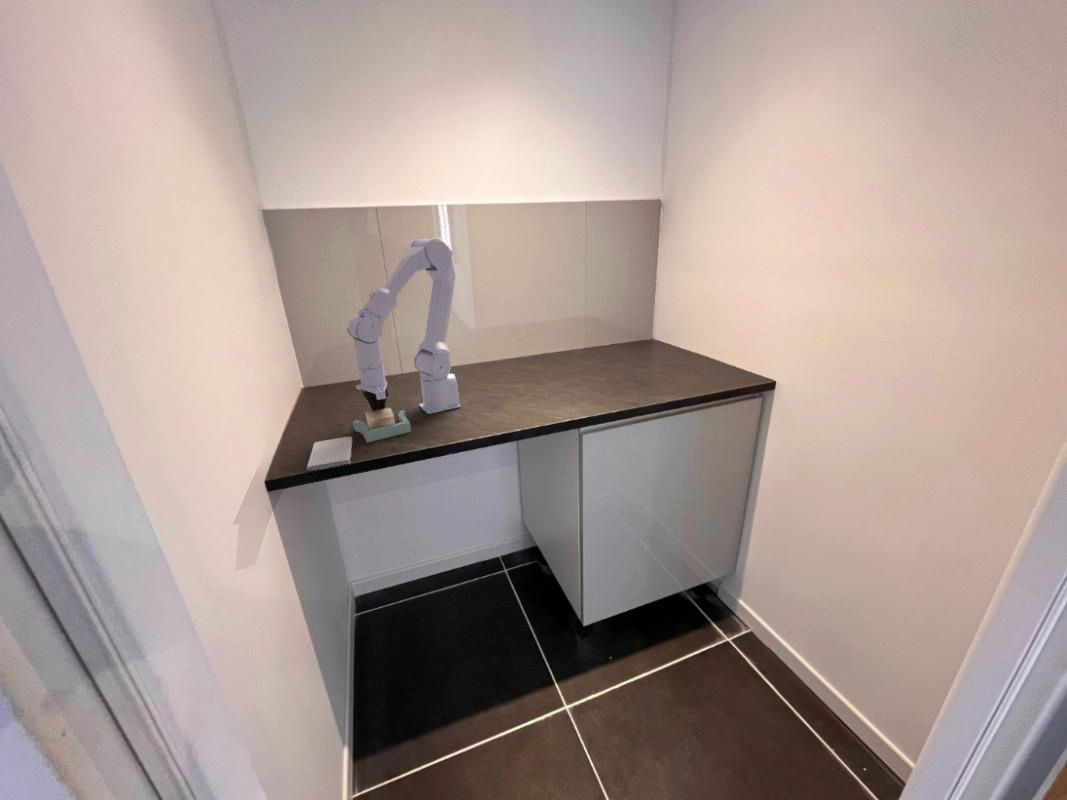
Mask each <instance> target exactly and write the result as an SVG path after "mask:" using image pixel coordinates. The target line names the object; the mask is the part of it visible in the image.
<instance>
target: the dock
mask: <svg viewBox="0 0 1067 800" xmlns="http://www.w3.org/2000/svg"><path fill="white" fill-rule="evenodd" d="M397 416H398V422H395V424H392V425H388V426H384V427H379V428H375V429H371V430H369V428H368V425H367V422H364V421H363V420H362V421H361V420H359V419H355V420H354V421H352V423H353V429H354V431H355V432H357V433H360V434H362V436H363V438H364V439H365V442H366V443H371V442H375V441H378V440H384V439H387V438H391V437H395V436H399V435H404V434H407V433H412V427H411V422H410V420H409V419H408V418H407V417H406V416H407V414H406V409H402V410H401V409H400V410H399V412H398V415H397Z"/></svg>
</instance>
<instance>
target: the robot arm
mask: <svg viewBox="0 0 1067 800" xmlns="http://www.w3.org/2000/svg"><path fill="white" fill-rule="evenodd" d="M453 254H454V251H453V250H452V249H451V247H450V246H449V244H448V243H447V242H446V241H445V240H444V239H442V238H440V237H433V238H425V239H424V238H416V239H415V240H413V241H412V242H411V244H410V246H409V247H408V248H406V250H405V252H404V254H403V257H402V258H401V260H400V261H399V263H398V264H397V267H396V268H395V269H394V271H393V273H392V274H391V276H390V278H389V279H388V281H387V282H386V284H385V286H384V287H382V288H376V289H375V291H370V292H369V294H368V297H369V298H368V300H367V302H366V303H365V304H364V305H363V307H362V309H359V310H358V311H357V312H356V313H357V314H358V315H356V316H353V317H352V318H351V319H350V320H349V322H348V328H347V329H346V332H347V334H349V336H350V337H351V338H352V339H353V344H354V345H353V346H354V353H355V357H356V364H357V368H358V373H359V378H360V379H359V380H360V384H356V385H355V388H356V389H357V390H358V391H360V390H363V391H362V395H363V397H364V398H365V399H366V400H367V403H368V404H369V406H370V409H371V411H375V410H380V409H386V402H387V399H388V397H389V391H388V389H387V386H388V381H387V380H386V376H385V375H386V373H385V367H384V366H385V365H384V362H383V356H382V350H381V344H380V338H381V337H382V335H383V326H384V325H385V323H386V322H387V320H388V318H389V317H390V316H391V314H392V313H393V312H394V310H395V309H396V307H397V305H398V298H397V297H398V295H399V294H401V292H402V291H403V289H404V287H405V286H406V285H407V284H408V283H409V281H410V280H411V279H413V278H412V277H414V275H415V274H416V273H417V272H419V271H423V270H425V272H426V273H428V275H429V277H430V278H431V279H432V287H431V294H430V301H429V306H428V307H429V308H428V315H427V321H426V328H425V333H424V334H425V335H424V340H423V341H422V342H421V343H419V346H418V350H417V352H416V353H415V356H414V359H413V366H414V368H415V370H417V371H418V372H419V379H420V387H421V395H422V401H423V402H422V403H419V404H418V406H419V407H420V408H421V409H422V410H423V411H424V412H425V413H426V414H427V415H432V414H435V413H439V412H445V411H447V410H448V411H449V410H451V409H457V408H461V407H462V406H461V404H460V394H459V385H458V384H459V383H458V381H457V378H456V376H455V374H454V373H450V372H451V369H452V364H451V360H450V359H451V358H450V355H451V351H450V350H449V347H448V345H447V343H446V342H447V336H448V335H447V334H448V328H449V323H450V322H449V321H450V314H451V310H452V309H451V308H452V302H453V295H454V289H455V288H454V287H455V284H456V283H455V282H456V273H455V269H454V268H455V267H454V263H453Z"/></svg>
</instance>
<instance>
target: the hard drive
mask: <svg viewBox="0 0 1067 800" xmlns="http://www.w3.org/2000/svg"><path fill="white" fill-rule="evenodd" d="M352 447H353V437H352V436H343V437H337V438H332V439H325V440H319V441H316V442H314V443H313V445H312V450H311V453H310V455H309V459H308V462H307V465H306V471H307V470H308V469H321V470H326V469H330V468H329V467H332V466H337V465H342V464H349V465H351V461H350V458H352V450H351V449H352ZM337 467H338V466H337ZM325 468H326V469H325ZM332 468H333V467H332Z"/></svg>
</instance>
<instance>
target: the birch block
mask: <svg viewBox="0 0 1067 800" xmlns="http://www.w3.org/2000/svg"><path fill="white" fill-rule="evenodd" d="M364 414H365V418H366V425H367V427H368V428H369V430H371V429H375V428H379V427H384V426H388V425H392V424H396V419H395V415H394V412H393V410H392V408H391V407H387V408H386V407H385V409H380V410H375V411H372V410H371V411H365V412H364Z"/></svg>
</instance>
